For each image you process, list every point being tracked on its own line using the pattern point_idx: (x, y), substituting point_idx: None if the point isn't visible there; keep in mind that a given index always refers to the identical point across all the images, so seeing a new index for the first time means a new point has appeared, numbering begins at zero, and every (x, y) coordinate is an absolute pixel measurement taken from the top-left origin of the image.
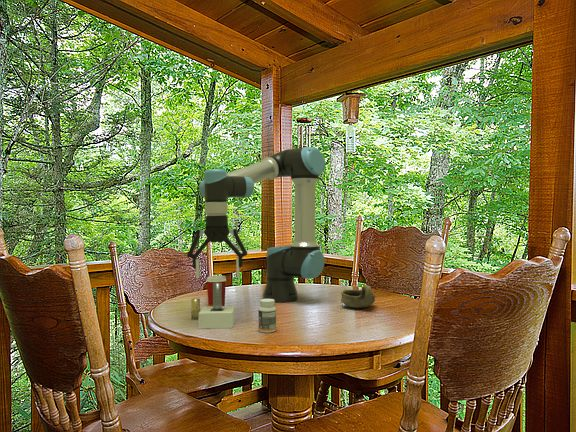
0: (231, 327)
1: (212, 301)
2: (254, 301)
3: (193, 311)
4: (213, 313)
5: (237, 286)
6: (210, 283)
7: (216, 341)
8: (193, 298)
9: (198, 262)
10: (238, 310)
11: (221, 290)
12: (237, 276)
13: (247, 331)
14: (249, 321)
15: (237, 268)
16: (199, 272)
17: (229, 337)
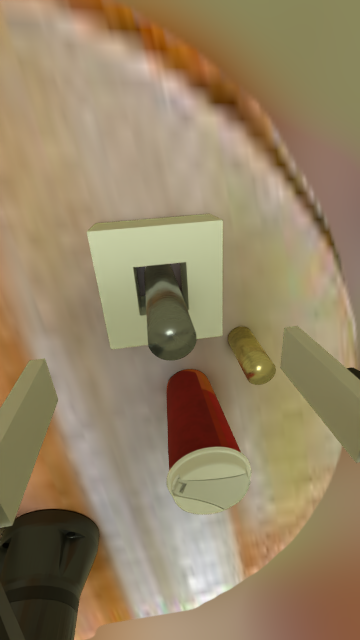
0: (98, 223)
1: (203, 395)
2: (115, 510)
3: (252, 339)
4: (163, 225)
5: (190, 605)
6: (226, 444)
7: (100, 2)
8: (269, 379)
9: (344, 403)
10: (135, 428)
11: (147, 320)
12: (37, 361)
13: (24, 177)
14: (63, 314)
15: (16, 399)
16: (294, 378)
17: (65, 76)
